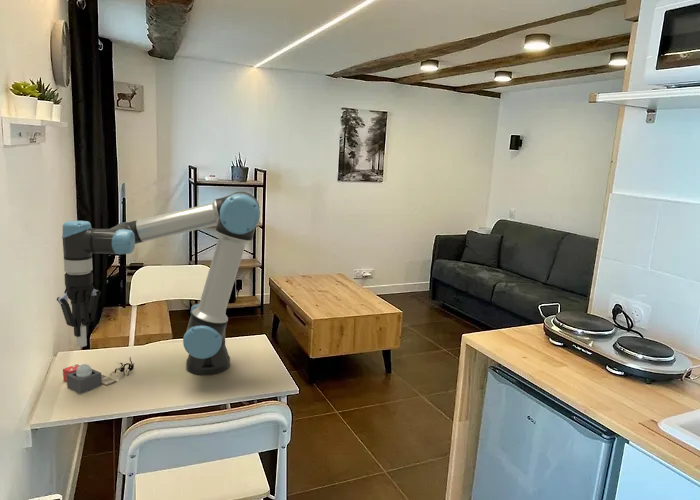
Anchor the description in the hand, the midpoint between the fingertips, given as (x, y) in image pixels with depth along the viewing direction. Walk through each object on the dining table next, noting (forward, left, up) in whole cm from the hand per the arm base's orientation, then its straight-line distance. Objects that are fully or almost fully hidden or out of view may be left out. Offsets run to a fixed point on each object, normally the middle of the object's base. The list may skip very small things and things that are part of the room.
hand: (81, 345), depth 151 cm
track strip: (+6, -6, -14) cm, 17 cm away
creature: (-2, -12, -14) cm, 19 cm away
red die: (+7, -1, -14) cm, 16 cm away
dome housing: (0, 0, -14) cm, 14 cm away
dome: (0, 0, -11) cm, 11 cm away
